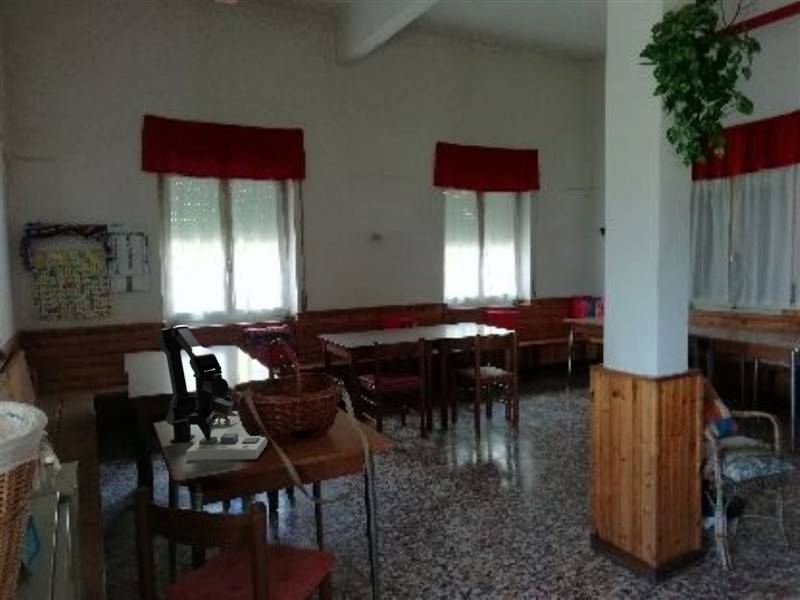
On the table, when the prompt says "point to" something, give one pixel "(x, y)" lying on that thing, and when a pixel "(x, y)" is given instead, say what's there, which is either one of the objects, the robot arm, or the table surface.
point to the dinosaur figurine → (224, 416)
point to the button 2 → (250, 440)
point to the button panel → (227, 450)
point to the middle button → (229, 438)
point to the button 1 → (208, 441)
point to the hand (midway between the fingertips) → (208, 438)
